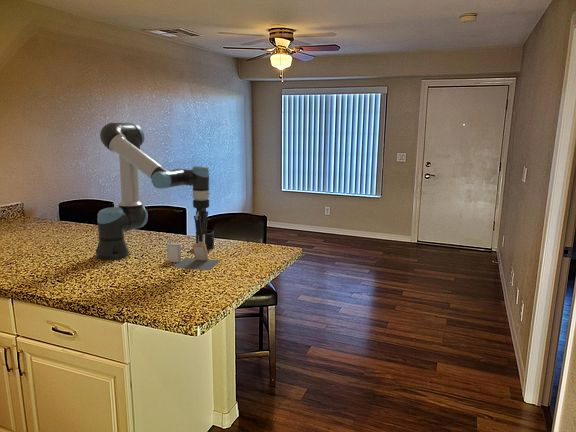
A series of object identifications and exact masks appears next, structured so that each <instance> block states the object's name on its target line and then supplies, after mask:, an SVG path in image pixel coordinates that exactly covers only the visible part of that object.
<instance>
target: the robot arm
mask: <svg viewBox="0 0 576 432" xmlns="http://www.w3.org/2000/svg"><path fill="white" fill-rule="evenodd" d="M99 139H100V141H101V143H102V144H103V146H104V147H105V148H107V150H109V151H110V152H111V153H117V154H118V158H119V159H118V161H119V175H120V178H119V179H120V194H121V200H120V203H118V206H111V207H106V208H103V209H100V210H99V211H98V213H97V219H96V221H97V230H98V243H97V247H96V251H95V258H97V259H100V260H107V261H108V260H119V259H123V258H126V257H128V256H129V252H130V251H129V248H128V246H127V243H126V241H125V232H126V233H127V232H130V231H133V230H138V229H141V228H143V227H144V226H145V225H146V224H147V222H148V219H149V218H148V217H149V214H148V211H147V210H146V208H145V206H143V205H144V204H143V203H142V201H141V200H140V191H139V190H140V188H139V187H140V186H139V171H140V172H141V173H143V174H144V175H145V176H147V177H148V178H149V179H150V181H151V184H152V186H153V187H154V188H155V189H160V190H161V189H168V188H169V189H170V188H174V187H180V186H181V187H182V186H191V187H192V199H193V200H192V207H193V209H196V211H195V215H194V216H193V219H194V225H195V236H196V235H198V243H201V244H205V234H207V232H206V231H207V230H208V228H207V227H208V216H209V211H207V209H208V208H209V207H210V194H211V192H210V169H209V167H208V166H207V165H193V166H192V169H187V168H185V169H184V168H174V169H172V170H168V169H166V168H165V167H163V166H162V165H161V164H159V163H158V162H157V161H155V160H154V159H153V158H152V157H150V156H149V155H147V154H146V153H145V152H143V151H142V150H141V146H142V145H143V143H144V142H145V133H144V130H143V128H141V126H140V125H138V124H136V123H133V122H108V123H105V125H103V126H102V127H101V130H100V132H99Z"/></svg>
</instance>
